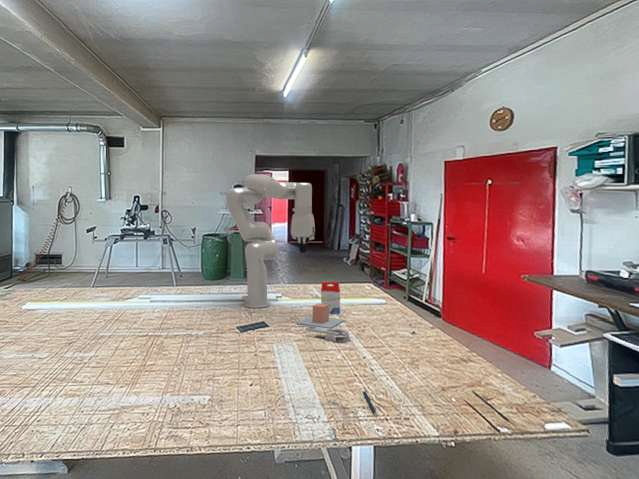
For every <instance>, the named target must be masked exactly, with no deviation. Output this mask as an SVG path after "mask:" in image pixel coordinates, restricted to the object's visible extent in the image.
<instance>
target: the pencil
mask: <svg viewBox="0 0 639 479" xmlns="http://www.w3.org/2000/svg"><path fill="white" fill-rule="evenodd" d="M362 394H363V396H364V398H365V400H366V402H367V404H368V406H369V409H370V410H371V412H372V414H373V416H374V417H375V418H377V417H378V414H377V412H376V409H375V407H374V405H373V404H372V401H371V399H370V397H369V395H368V393H367V391H365V390H363V391H362Z"/></svg>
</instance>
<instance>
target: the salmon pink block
mask: <svg viewBox="0 0 639 479" xmlns="http://www.w3.org/2000/svg"><path fill="white" fill-rule="evenodd" d="M312 316H313V321H312V322H317V323H325V322H327V321H329V318H330V314H329V305H328V304H321V302H318V303H316V304H313V305H312Z"/></svg>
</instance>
